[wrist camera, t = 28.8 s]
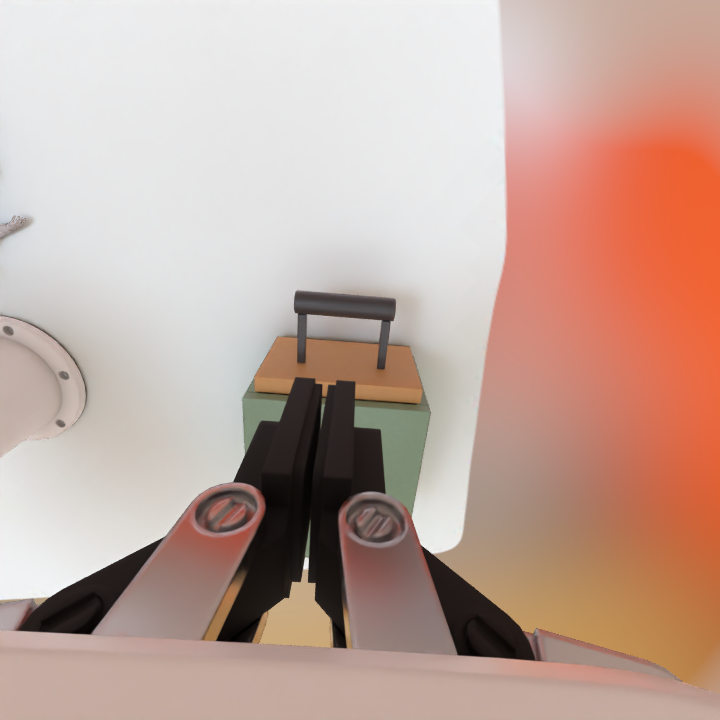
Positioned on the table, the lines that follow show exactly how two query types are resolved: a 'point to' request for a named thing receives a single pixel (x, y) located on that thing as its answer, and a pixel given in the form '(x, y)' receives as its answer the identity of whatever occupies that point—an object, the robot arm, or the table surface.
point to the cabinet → (395, 421)
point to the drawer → (342, 353)
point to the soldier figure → (11, 225)
